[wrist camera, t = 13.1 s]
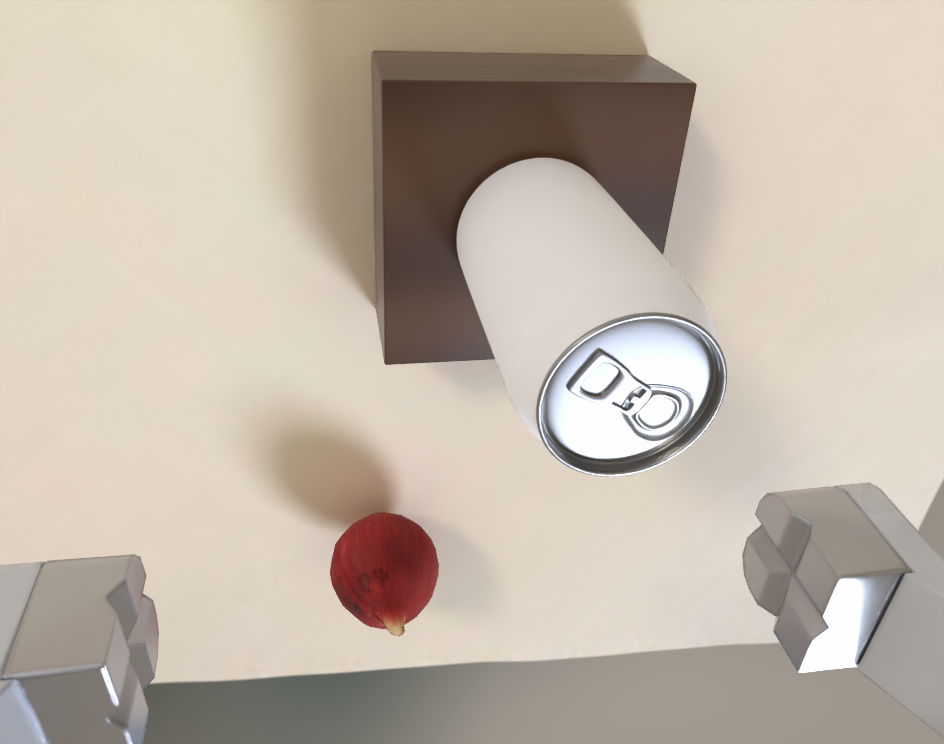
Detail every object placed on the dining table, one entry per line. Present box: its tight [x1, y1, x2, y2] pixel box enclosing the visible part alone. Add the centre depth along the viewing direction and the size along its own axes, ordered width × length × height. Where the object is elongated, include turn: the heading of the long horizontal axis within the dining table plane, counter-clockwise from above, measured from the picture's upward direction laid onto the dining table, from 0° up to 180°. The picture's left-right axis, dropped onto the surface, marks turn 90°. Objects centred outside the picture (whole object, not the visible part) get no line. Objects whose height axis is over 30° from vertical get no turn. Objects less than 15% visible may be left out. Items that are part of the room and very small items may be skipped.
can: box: [457, 158, 727, 476], centre depth 27 cm, size 6×6×12 cm
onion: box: [330, 513, 439, 636], centre depth 43 cm, size 6×6×8 cm
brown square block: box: [372, 51, 697, 365], centre depth 34 cm, size 12×12×5 cm
